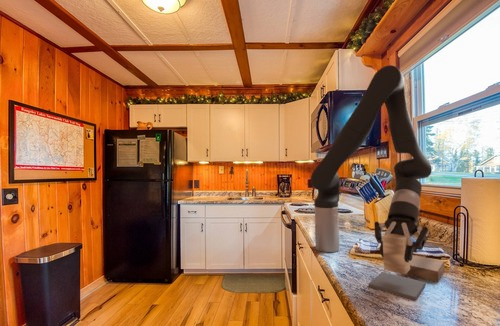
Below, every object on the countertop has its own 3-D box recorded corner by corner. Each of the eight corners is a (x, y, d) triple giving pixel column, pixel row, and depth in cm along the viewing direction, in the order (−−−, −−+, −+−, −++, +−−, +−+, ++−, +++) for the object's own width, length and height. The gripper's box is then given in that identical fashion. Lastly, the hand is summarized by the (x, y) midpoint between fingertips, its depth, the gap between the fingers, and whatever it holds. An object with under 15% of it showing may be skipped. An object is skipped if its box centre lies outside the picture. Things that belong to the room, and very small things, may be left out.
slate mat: (368, 286, 69) (368, 283, 69) (382, 274, 77) (382, 271, 77) (415, 300, 61) (415, 297, 61) (425, 285, 69) (425, 282, 69)
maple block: (384, 270, 69) (382, 236, 69) (390, 265, 72) (388, 233, 73) (405, 274, 65) (403, 239, 66) (410, 269, 69) (408, 235, 69)
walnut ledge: (401, 273, 77) (401, 263, 77) (410, 263, 85) (410, 254, 85) (438, 282, 71) (437, 271, 71) (444, 270, 78) (444, 261, 78)
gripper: (375, 198, 80) (362, 245, 71) (430, 201, 70) (423, 256, 61) (382, 213, 83) (370, 260, 74) (435, 217, 73) (429, 272, 64)
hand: (394, 258), depth 68 cm, fingers closed on maple block, 5 cm apart
